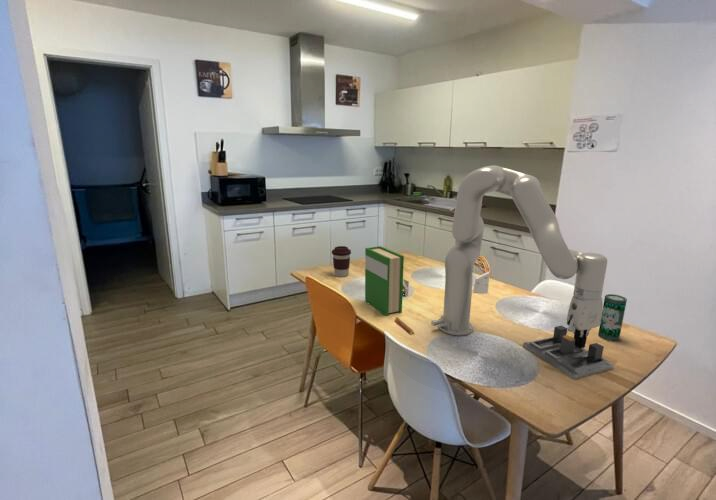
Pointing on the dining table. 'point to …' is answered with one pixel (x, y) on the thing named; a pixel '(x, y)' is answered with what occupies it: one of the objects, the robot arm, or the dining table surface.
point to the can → (612, 317)
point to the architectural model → (405, 287)
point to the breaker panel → (569, 355)
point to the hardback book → (384, 279)
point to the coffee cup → (341, 261)
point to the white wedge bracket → (482, 283)
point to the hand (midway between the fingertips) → (578, 345)
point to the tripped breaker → (567, 345)
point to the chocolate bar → (404, 326)
